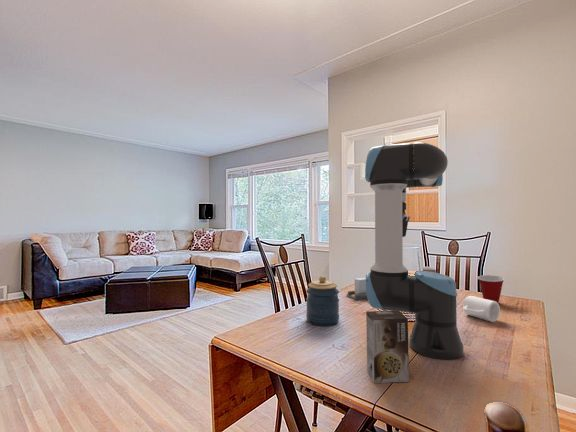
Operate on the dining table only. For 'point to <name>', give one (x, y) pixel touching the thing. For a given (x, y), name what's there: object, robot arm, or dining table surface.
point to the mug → (481, 308)
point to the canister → (322, 302)
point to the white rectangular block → (360, 285)
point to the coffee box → (387, 346)
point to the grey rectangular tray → (356, 295)
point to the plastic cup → (491, 287)
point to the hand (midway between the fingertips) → (398, 251)
